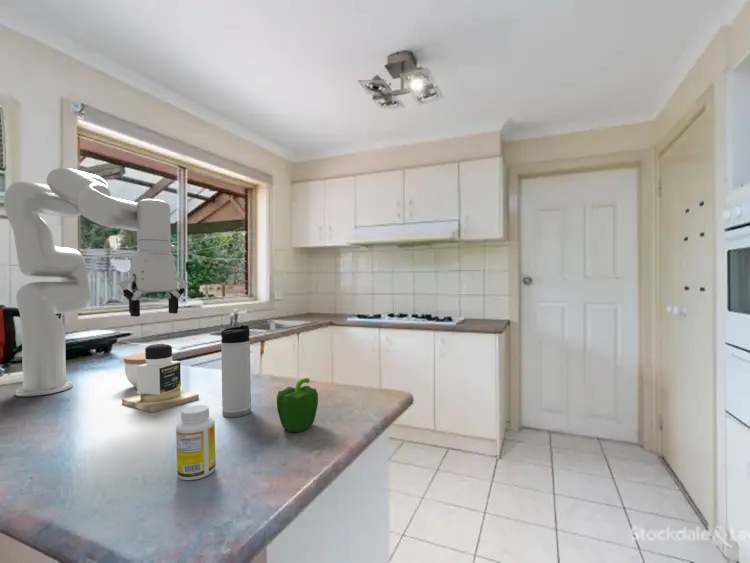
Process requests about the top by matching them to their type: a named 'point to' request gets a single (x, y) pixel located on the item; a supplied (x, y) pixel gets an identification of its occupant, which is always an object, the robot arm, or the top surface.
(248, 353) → the travel mug
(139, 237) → the robot arm
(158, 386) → the medicine bottle
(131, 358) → the lidded bowl
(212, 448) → the supplement bottle
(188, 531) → the top surface
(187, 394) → the board
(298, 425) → the bell pepper
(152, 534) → the top surface
